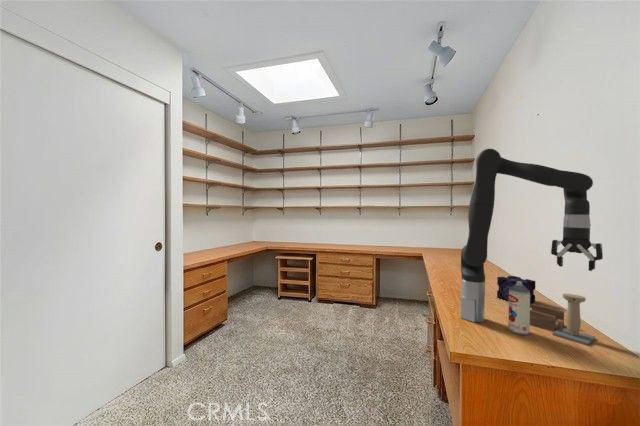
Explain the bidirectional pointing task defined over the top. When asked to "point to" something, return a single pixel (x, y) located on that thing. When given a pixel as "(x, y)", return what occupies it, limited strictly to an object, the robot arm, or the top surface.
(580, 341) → the mat
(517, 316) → the aerosol can
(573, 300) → the handle
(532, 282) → the energy cube
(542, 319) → the frame
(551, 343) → the top surface
